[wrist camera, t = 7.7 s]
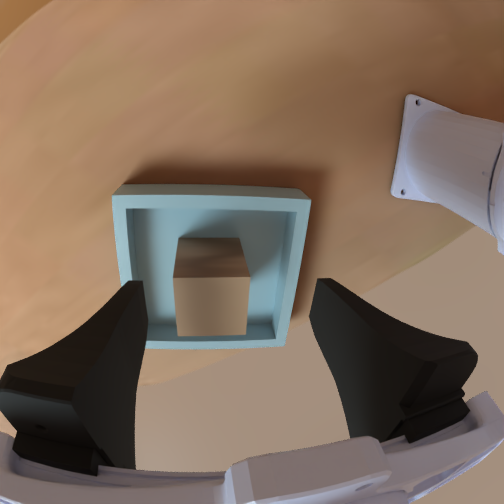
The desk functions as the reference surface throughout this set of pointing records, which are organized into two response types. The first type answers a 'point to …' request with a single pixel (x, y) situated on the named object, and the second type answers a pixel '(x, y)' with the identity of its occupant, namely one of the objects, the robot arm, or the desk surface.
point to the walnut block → (210, 287)
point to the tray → (213, 226)
